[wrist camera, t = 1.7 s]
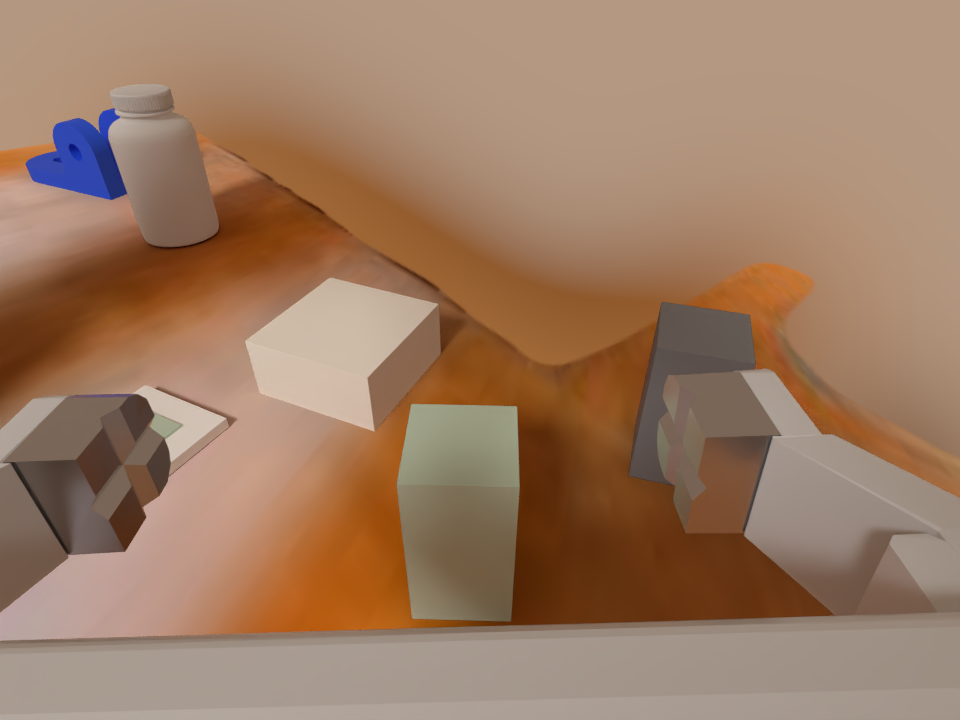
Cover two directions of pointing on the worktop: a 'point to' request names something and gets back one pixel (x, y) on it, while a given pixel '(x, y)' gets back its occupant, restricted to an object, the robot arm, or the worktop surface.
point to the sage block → (460, 510)
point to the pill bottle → (161, 167)
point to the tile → (182, 425)
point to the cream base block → (347, 351)
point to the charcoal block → (685, 368)
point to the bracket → (81, 159)
